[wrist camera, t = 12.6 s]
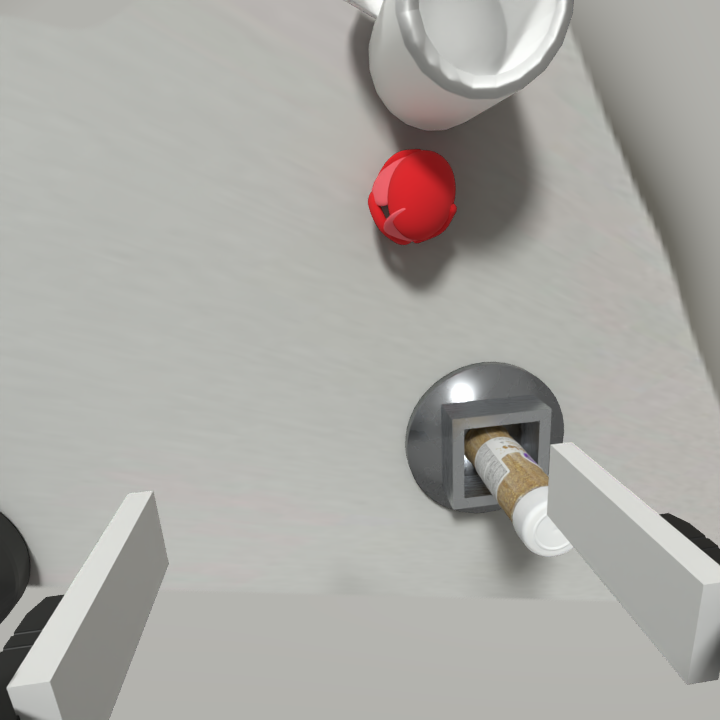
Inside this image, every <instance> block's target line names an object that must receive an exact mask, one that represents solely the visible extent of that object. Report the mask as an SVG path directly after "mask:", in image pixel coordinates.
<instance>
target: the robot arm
mask: <svg viewBox="0 0 720 720" xmlns="http://www.w3.org/2000/svg"><path fill="white" fill-rule="evenodd" d="M547 515H548V517H549V518H550V519H551V520H552V522H553V523H554V524H555V525H556V526H557V528H558V529H559V530H560V531H561V532H562V534H563V535H564V536H565V537H566V539H567V540H568V541H569V542H570V543H571V545H572V546H573V547H574V548H575V549H576V551H577V552H578V553H579V554H580V556H581V557H582V558H583V559H584V560H585V562H586V563H587V564H588V565H589V566H590V568H591V569H592V570H593V571H594V573H595V574H596V575H597V576H598V577H599V579H600V580H601V581H602V582H603V583H604V585H605V586H606V587H607V588H608V590H609V591H610V592H611V593H612V594H613V596H614V597H615V598H616V599H617V600H618V602H619V603H620V604H621V605H622V607H623V608H624V609H625V610H626V611H627V612H628V614H629V615H630V616H631V617H632V619H633V620H634V621H635V622H636V624H637V625H638V626H639V627H640V628H641V630H642V631H643V632H644V633H645V634H646V636H647V637H648V638H649V639H650V640H651V642H652V643H653V644H654V645H655V646H656V648H657V649H658V650H659V651H660V653H661V654H662V655H663V656H664V657H665V659H666V660H667V661H668V662H669V663H670V665H671V666H672V667H673V668H674V670H675V671H676V672H677V673H678V674H679V676H680V677H681V678H682V679H683V681H684V682H685V683H686V684H687V685H689V684H694V683H700V682H706V681H712V680H718V678H719V672H720V549H719V548H718V546H717V545H716V544H715V543H714V542H712V541H711V540H710V539H709V538H706V537H705V535H704V534H702V533H701V532H700V531H698V530H697V529H696V528H695V527H693V526H692V525H691V524H690V523H688V522H686V521H684V520H682V519H680V518H677V517H675V516H673V515H671V514H669V513H667V514H658V513H656V512H655V511H654V510H653V509H652V508H650V507H649V506H648V505H647V504H646V503H644V502H643V501H642V500H641V499H640V498H638V497H637V496H636V495H635V494H634V493H632V492H631V491H630V490H629V489H628V488H626V487H625V486H624V485H623V484H622V483H620V482H619V481H618V480H617V479H616V478H614V477H613V476H612V475H611V474H610V473H608V472H607V471H606V470H605V469H604V468H602V467H601V466H600V465H599V464H598V463H596V462H595V461H594V460H593V459H592V458H590V457H589V456H588V455H587V454H586V453H584V452H583V451H582V450H581V449H580V448H578V447H577V446H576V445H575V444H574V443H572V442H568V443H560V444H551V445H550V462H549V482H548V501H547ZM168 564H169V562H168V558H167V553H166V548H165V544H164V539H163V534H162V529H161V525H160V520H159V515H158V511H157V506H156V501H155V497H154V492H153V491H147V492H138V493H129V494H128V495H127V496H126V498H125V499H124V501H123V503H122V504H121V506H120V507H119V509H118V511H117V512H116V514H115V515H114V517H113V519H112V520H111V522H110V523H109V525H108V527H107V528H106V530H105V531H104V533H103V535H102V536H101V538H100V539H99V541H98V543H97V544H96V546H95V547H94V549H93V550H92V552H91V554H90V555H89V557H88V558H87V560H86V562H85V563H84V565H83V566H82V568H81V570H80V571H79V573H78V574H77V576H76V578H75V579H74V581H73V582H72V584H71V586H70V587H69V589H68V590H67V592H66V594H65V595H58V596H51V597H46V598H45V599H44V600H42V601H41V602H40V603H39V604H38V605H37V606H36V607H34V608H33V609H32V610H31V611H30V612H29V613H27V615H26V616H25V618H24V619H23V620H22V622H21V623H20V625H19V626H18V627H17V629H16V630H15V632H14V636H11V638H10V639H9V640H8V642H7V643H6V645H5V646H4V648H3V652H0V720H109V718H110V716H111V713H112V710H113V708H114V705H115V703H116V700H117V697H118V695H119V692H120V690H121V687H122V684H123V682H124V679H125V677H126V674H127V671H128V669H129V666H130V663H131V661H132V658H133V656H134V653H135V651H136V648H137V645H138V643H139V640H140V637H141V635H142V632H143V630H144V627H145V624H146V622H147V619H148V617H149V614H150V611H151V609H152V606H153V603H154V601H155V598H156V596H157V593H158V590H159V588H160V585H161V583H162V580H163V577H164V575H165V572H166V570H167V567H168ZM29 574H30V561H29V555H28V552H27V549H26V546H25V544H24V541H23V539H22V538H21V536H20V534H19V533H18V531H17V530H16V529H15V527H14V526H13V525H12V524H11V523H10V522H9V521H8V520H7V519H6V518H5V517H4V516H3V515H2V514H1V513H0V623H1V622H2V621H3V620H4V619H5V618H6V617H7V616H8V614H9V613H10V612H11V610H12V609H13V608H14V606H15V605H16V604H17V602H18V601H19V599H20V598H21V597H22V595H23V593H24V591H25V589H26V587H27V584H28V580H29Z"/></svg>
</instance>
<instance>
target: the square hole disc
mask: <svg viewBox="0 0 720 720" xmlns="http://www.w3.org/2000/svg"><path fill="white" fill-rule="evenodd" d="M499 425H502V426H503V427H505V428H506V430H507V431H508V433H509V435H510V436H511V437H512V438H513V439H514V440H515V441H516V442H517V443H518V444H519V445H520V446H521V447H522V448H523V449H524V450H525V451H526V452H527V454H528V455H529V456H530V457H531V458H532V459H533V460H534V461H535V462H536V463H537V464H538V465H539V466H540V467H541V468H542V470H543V471H544V473H545V474H546V475H547V476H548V475H549V462H550V445H551V444H560V443H563V436H564V423H563V416H562V412H561V409H560V406H559V404H558V402H557V399H556V397H555V396H554V394H553V393H552V392H551V390H550V389H549V388H548V387H547V386H546V385H545V384H544V383H543V382H542V381H541V380H540V379H538V378H537V377H536V376H534V375H533V374H531V373H529V372H528V371H526V370H524V369H522V368H520V367H517V366H515V365H511V364H507V363H500V362H482V363H476V364H471V365H468V366H465V367H462V368H459V369H457V370H455V371H453V372H451V373H449V374H447V375H446V376H444V377H443V378H441V379H440V380H439V381H437V382H436V383H435V384H434V385H433V386H431V387H430V388H429V389H428V390H427V391H426V393H425V394H424V395H423V396H422V398H421V399H420V400H419V402H418V403H417V405H416V407H415V408H414V410H413V413H412V415H411V417H410V420H409V423H408V426H407V432H406V441H405V448H406V456H407V460H408V464H409V466H410V469H411V471H412V473H413V476H414V478H415V480H416V481H417V483H418V485H419V486H420V487H421V488H422V490H423V491H424V492H425V493H426V494H427V495H428V496H429V497H431V498H432V499H433V500H435V501H436V502H438V503H439V504H441V505H443V506H445V507H447V508H450V509H453V510H457V511H462V512H469V513H482V512H490V511H495V510H499V509H502V508H501V507H500V505H499V504H498V502H497V501H496V500H495V498H494V497H493V495H492V494H491V492H490V491H489V489H488V488H487V486H486V485H485V483H484V482H483V480H482V479H481V478H480V476H479V475H478V473H477V471H476V468H475V467H474V466H473V464H472V463H471V462H470V461H469V460H468V459H467V458H466V456H465V454H464V438H465V436H466V434H467V432H468V431H469V430H470V429H472V428H481V427H490V426H499Z"/></svg>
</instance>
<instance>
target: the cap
mask: <svg viewBox="0 0 720 720" xmlns="http://www.w3.org/2000/svg"><path fill="white" fill-rule="evenodd" d="M454 200H455V179H454V175H453V171H452V169H451V167H450V165H449V164H448V162H447V161H446V160H445V159H444V158H443V157H442V156H441V155H439V154H438V153H436V152H433V151H428V150H420V149H410V150H403V151H400V152H398V153H396V154H394V155H393V156H392V157H391V158H389V159H388V161H387V162H386V163H385V164H384V166H383V167H382V169H381V171H380V173H379V175H378V177H377V178H376V180H375V182H374V185H373V188H372V192H371V193H370V195H369V198H368V205H369V209H370V212H371V215H372V217H373V219H374V221H375V223H376V225H377V227H378V228H379V230H380V231H381V232H382V233H383V234H384V235H385V236H386V237H388V238H389V239H390V240H392V241H394V242H395V243H397V244H400V245H407V244H409V243H411V242H412V241H413V242H414V243H420V242H423V241H425V240H428V239H431V238H433V237H436V236H438V235H439V234H441V233H442V232H444V231H445V230H446V228H447V227H448V226H449V224H450V222H451V220H452V218H453V216H454V215H455V213H456V211H457V207H456V205H455V204H454ZM386 205H388V210H389V214H390V216H389V217H388V218H387V219H386V217H385V215H384V213H383V211H382V209H381V206H386Z"/></svg>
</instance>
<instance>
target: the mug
mask: <svg viewBox="0 0 720 720" xmlns="http://www.w3.org/2000/svg"><path fill="white" fill-rule="evenodd" d="M344 1H346V2H347V3H349V4H351V5H353V6H354V7H356V8H358V9H359V10H361V11H363V12H365V13H366V14H368V15H370V16H372V17H373V18H375V19H376V20H375V22H374V26H373V30H372V34H371V38H370V42H369V71H370V74H371V77H372V80H373V83H374V86H375V89H376V92H377V94H378V96H379V97H380V98H381V100H382V101H383V103H384V104H385V106H386V107H387V109H388V110H389V111H390V112H391V113H392V114H393V115H395V116H396V117H397V118H399V119H400V120H401V121H402V122H404V123H405V124H407V125H410V126H413V127H416V128H419V129H422V130H425V131H431V130H447V129H449V128H452V127H454V126H457V125H460V124H462V123H464V122H466V121H468V120H470V119H471V118H473V117H475V116H477V115H478V114H480V113H482V112H483V111H485V110H487V109H489V108H490V107H492V106H494V105H495V104H497V103H499V102H501V101H502V100H504V99H506V98H507V97H509V96H511V95H513V94H514V93H516V92H518V91H520V90H521V89H523V88H524V87H525V86H526V85H528V84H529V83H530V82H531V81H532V80H534V79H535V78H536V77H537V76H539V75H540V74H541V73H542V72H543V71H545V69H546V68H547V66H548V65H549V63H550V62H551V60H552V59H553V57H554V56H555V54H556V53H557V51H558V50H559V48H560V47H561V45H562V44H563V41H564V38H565V35H566V32H567V29H568V26H569V23H570V20H571V17H572V14H573V4H574V0H344Z"/></svg>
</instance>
